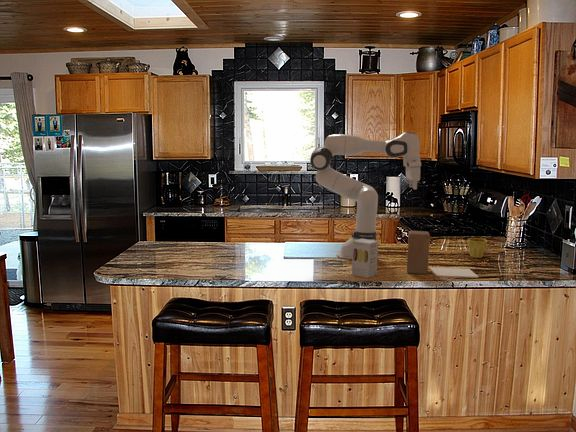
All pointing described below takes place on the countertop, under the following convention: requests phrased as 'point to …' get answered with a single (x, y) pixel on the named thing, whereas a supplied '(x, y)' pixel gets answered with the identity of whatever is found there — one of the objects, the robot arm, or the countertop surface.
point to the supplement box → (364, 258)
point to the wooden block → (418, 252)
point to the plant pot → (477, 247)
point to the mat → (453, 272)
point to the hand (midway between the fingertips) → (413, 188)
